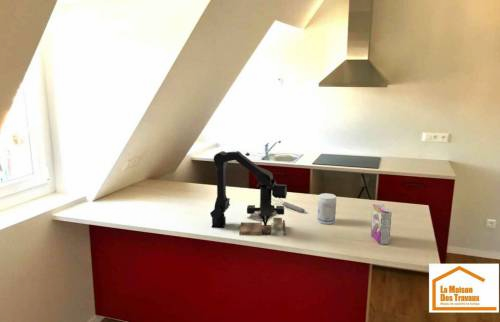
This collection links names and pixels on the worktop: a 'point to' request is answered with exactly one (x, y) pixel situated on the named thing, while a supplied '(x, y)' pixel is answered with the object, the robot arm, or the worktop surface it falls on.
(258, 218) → the packaged product
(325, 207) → the supplement tub
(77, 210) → the worktop surface
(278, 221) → the birch block
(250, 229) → the trap deck
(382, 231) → the candy bar box
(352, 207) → the worktop surface
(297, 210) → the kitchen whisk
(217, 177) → the robot arm
